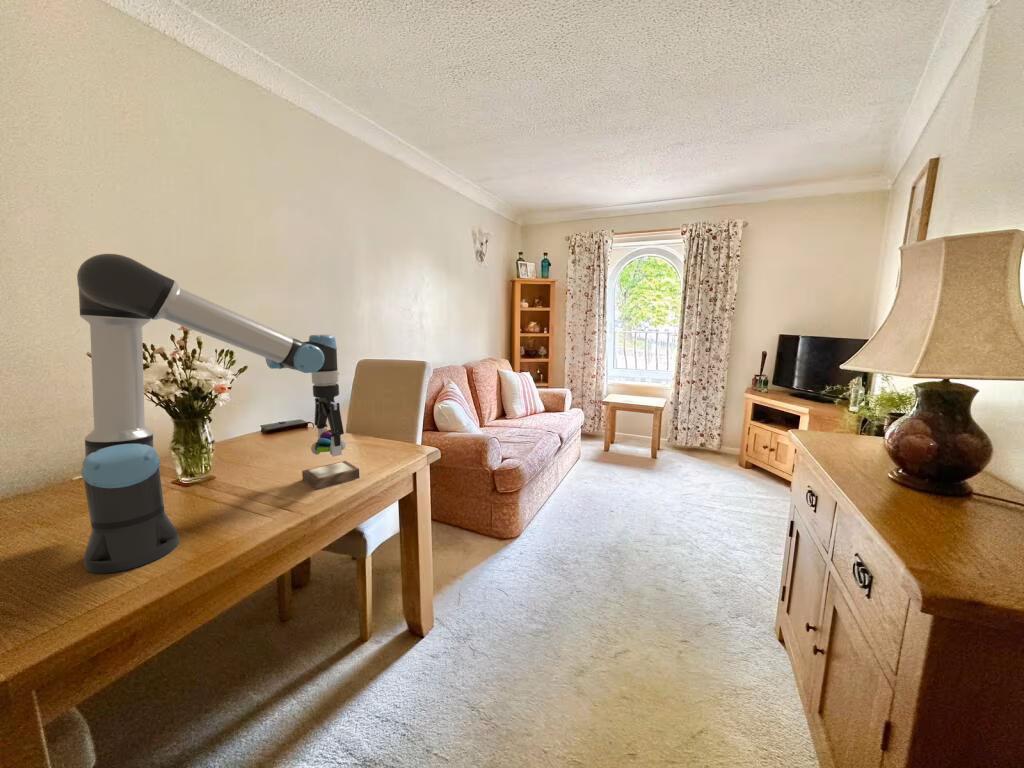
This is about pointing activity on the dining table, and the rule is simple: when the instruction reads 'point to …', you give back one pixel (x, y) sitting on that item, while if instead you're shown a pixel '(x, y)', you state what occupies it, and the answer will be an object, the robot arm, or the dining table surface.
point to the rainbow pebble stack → (325, 443)
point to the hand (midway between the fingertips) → (330, 451)
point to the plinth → (330, 474)
